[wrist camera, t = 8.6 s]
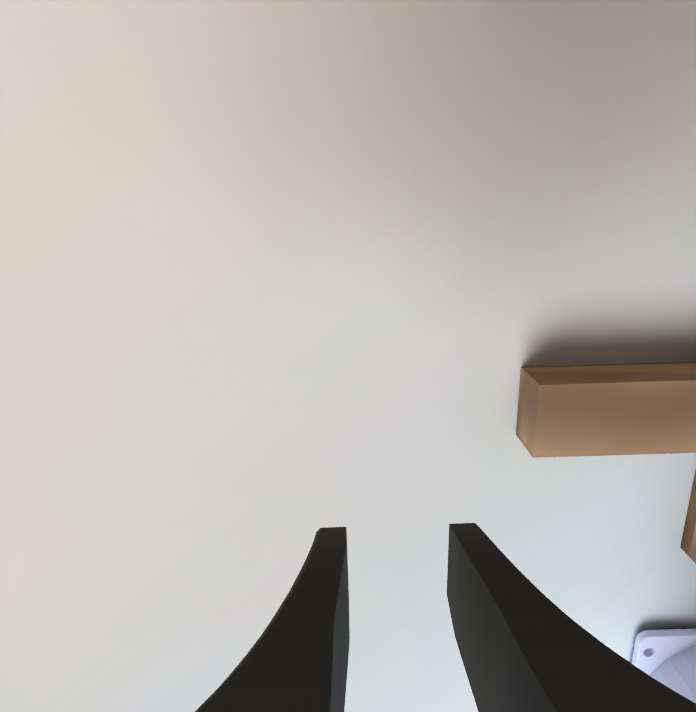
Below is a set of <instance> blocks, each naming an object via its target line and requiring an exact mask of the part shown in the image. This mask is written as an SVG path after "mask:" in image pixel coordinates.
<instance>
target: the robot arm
mask: <svg viewBox="0 0 696 712" xmlns="http://www.w3.org/2000/svg"><path fill="white" fill-rule="evenodd" d="M447 597H448V602H449V607H450V613H451V618H452V623H453V628H454V633H455V637H456V641H457V644H458V647H459V650H460V654H461V657H462V660H463V663H464V667H465V670H466V673H467V676H468V679H469V683H470V686H471V689H472V692H473V695H474V698H475V702H476V705H477V708H478V711H479V712H696V629H666V630H645V631H642V632H640V633H639V634H638V635H637V637H636V641H635V646H634V652H633V657H632V663H630V662H628V661H627V660H625V659H624V658H622V657H621V656H619V655H618V654H617V653H615V652H614V651H612V650H611V649H610V648H608V647H607V646H605V645H604V644H603V643H601V642H600V641H599V640H597V639H596V638H595V637H594V636H592V635H591V634H590V633H588V632H587V631H586V630H585V629H583V628H582V627H581V626H579V625H578V624H577V623H576V622H574V621H573V620H572V619H571V618H570V617H568V616H567V615H566V614H565V613H564V612H562V611H561V610H560V609H559V608H558V607H557V606H556V605H555V604H553V603H552V602H551V601H550V600H549V599H548V598H547V597H546V596H545V595H544V594H542V593H541V592H540V591H539V590H538V589H537V588H536V587H535V586H534V585H533V584H532V583H531V582H530V581H529V580H528V579H527V578H526V577H525V576H524V575H523V574H522V573H521V572H520V571H519V570H518V569H517V568H516V567H515V566H514V565H513V564H512V563H511V562H510V561H509V560H508V558H507V557H506V556H505V555H504V554H503V553H502V552H501V551H500V550H499V549H498V548H497V547H496V545H495V544H494V543H493V542H492V541H491V540H490V539H489V538H488V537H487V535H486V534H485V533H484V532H483V531H482V530H481V529H480V528H479V527H478V526H477V525H476V524H475V523H464V524H449V551H448V579H447ZM348 653H349V592H348V564H347V536H346V527H333V528H320V529H319V530H318V531H317V532H316V535H315V539H314V542H313V544H312V547H311V549H310V552H309V554H308V556H307V558H306V561H305V563H304V565H303V567H302V569H301V571H300V573H299V575H298V577H297V578H296V580H295V582H294V584H293V586H292V588H291V590H290V591H289V593H288V595H287V597H286V598H285V600H284V601H283V603H282V605H281V606H280V608H279V609H278V611H277V613H276V614H275V616H274V618H273V619H272V621H271V622H270V624H269V625H268V626H267V628H266V629H265V631H264V632H263V634H262V635H261V636H260V638H259V639H258V640H257V642H256V643H255V644H254V646H253V647H252V648H251V650H250V651H249V652H248V654H247V655H246V656H245V657H244V659H243V660H242V661H241V662H240V663H239V665H238V666H237V667H236V668H235V669H234V671H233V672H232V673H231V674H230V675H229V677H228V678H227V679H226V680H225V681H224V682H223V683H222V684H221V686H220V687H219V688H218V689H217V690H216V691H215V692H214V693H213V694H212V695H211V696H210V697H209V698H208V699H207V700H206V701H205V702H204V703H203V704H202V705H201V706H200V707H199V708H198V709H197V710H196V711H195V712H344V705H345V692H346V679H347V666H348Z"/></svg>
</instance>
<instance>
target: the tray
mask: <svg viewBox="0 0 696 712" xmlns="http://www.w3.org/2000/svg"><path fill="white" fill-rule="evenodd" d="M516 435H517V436H518V438H519V439H520V441H521V442H522V443H523V445H524V446H525V447H526V449H527V450H528V452H529V453H530V454H531V456H532V457H533V458H535V457H568V456H600V455H633V454H666V453H696V362H691V363H658V364H626V365H593V366H560V367H528V368H521V377H520V390H519V403H518V416H517V429H516ZM681 548H682V549H683V550H684V552H685V553H686V554H687V555H688V556H689V557H690V558H691V559H692V560H693V561H694V562H695V563H696V472H695V478H694V483H693V488H692V493H691V498H690V503H689V508H688V513H687V518H686V523H685V528H684V533H683V538H682V543H681Z"/></svg>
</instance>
